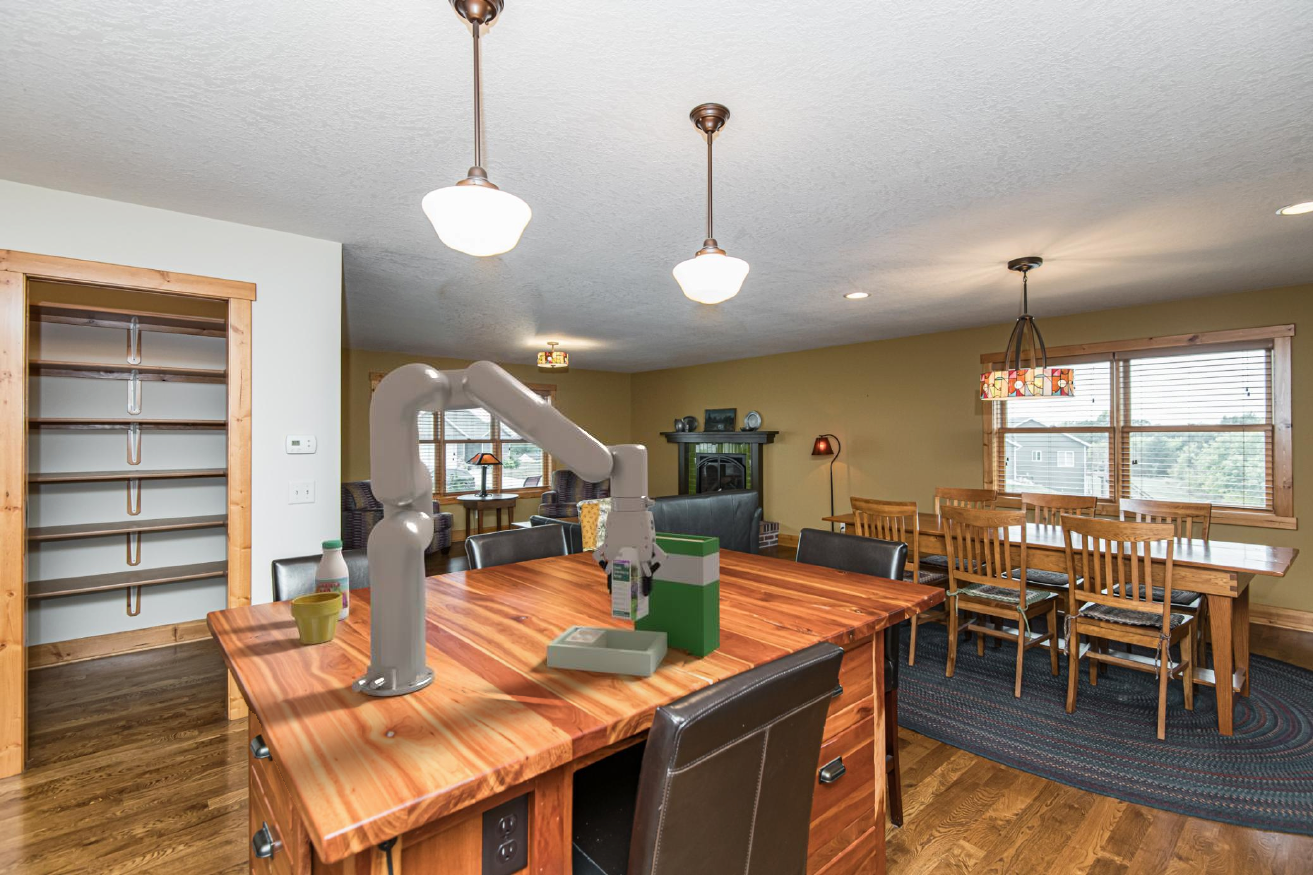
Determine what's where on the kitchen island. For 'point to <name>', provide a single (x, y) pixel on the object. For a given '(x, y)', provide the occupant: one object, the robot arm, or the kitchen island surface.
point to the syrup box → (628, 586)
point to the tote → (611, 652)
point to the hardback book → (686, 594)
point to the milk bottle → (333, 574)
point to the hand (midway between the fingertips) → (630, 593)
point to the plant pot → (317, 616)
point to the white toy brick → (587, 638)
